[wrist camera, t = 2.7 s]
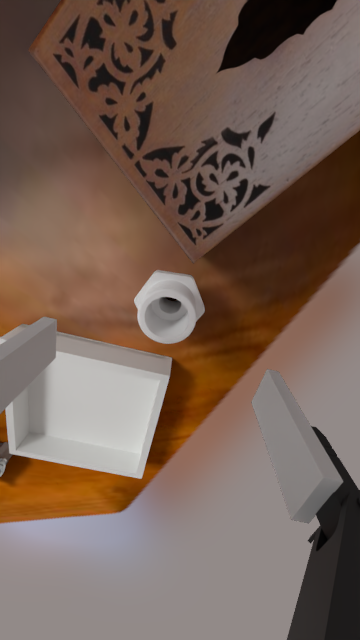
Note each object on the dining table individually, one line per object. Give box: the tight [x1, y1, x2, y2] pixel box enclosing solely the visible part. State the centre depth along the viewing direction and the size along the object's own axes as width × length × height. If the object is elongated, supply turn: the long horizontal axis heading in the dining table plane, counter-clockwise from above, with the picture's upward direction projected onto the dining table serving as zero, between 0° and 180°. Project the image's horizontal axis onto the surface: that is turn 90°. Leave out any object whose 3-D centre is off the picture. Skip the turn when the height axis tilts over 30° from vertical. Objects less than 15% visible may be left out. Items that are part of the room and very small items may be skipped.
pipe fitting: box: [134, 270, 205, 344], centre depth 24 cm, size 6×7×8 cm
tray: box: [0, 324, 172, 479], centre depth 33 cm, size 20×20×4 cm
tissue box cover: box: [28, 0, 360, 263], centre depth 15 cm, size 26×14×10 cm, turn 129°
